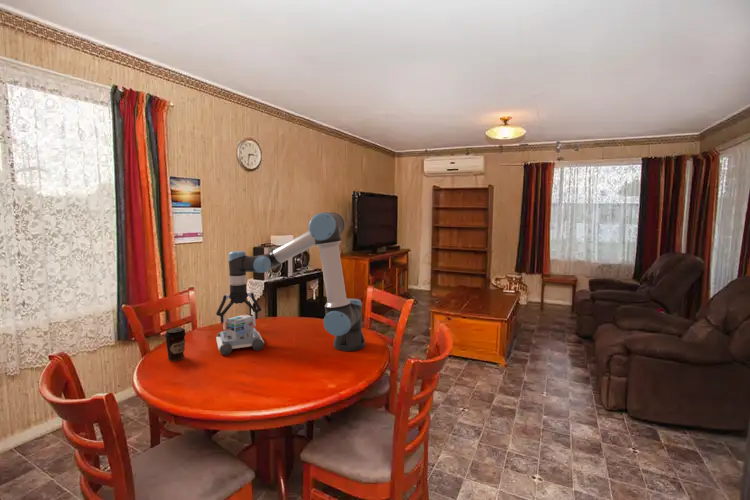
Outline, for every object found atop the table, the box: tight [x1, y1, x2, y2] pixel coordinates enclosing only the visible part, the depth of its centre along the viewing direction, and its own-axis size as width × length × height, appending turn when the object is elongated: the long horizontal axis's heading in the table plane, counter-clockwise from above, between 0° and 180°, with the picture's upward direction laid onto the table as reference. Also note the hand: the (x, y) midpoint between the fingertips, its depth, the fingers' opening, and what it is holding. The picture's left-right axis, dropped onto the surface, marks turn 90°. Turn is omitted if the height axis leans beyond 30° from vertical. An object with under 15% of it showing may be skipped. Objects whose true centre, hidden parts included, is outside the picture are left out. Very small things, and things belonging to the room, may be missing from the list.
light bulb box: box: [226, 314, 254, 340], centre depth 187 cm, size 11×7×11 cm, turn 148°
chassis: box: [215, 327, 265, 356], centre depth 187 cm, size 21×20×6 cm
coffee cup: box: [164, 327, 186, 362], centre depth 170 cm, size 9×8×13 cm
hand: (239, 327), depth 187 cm, fingers open, 13 cm apart
